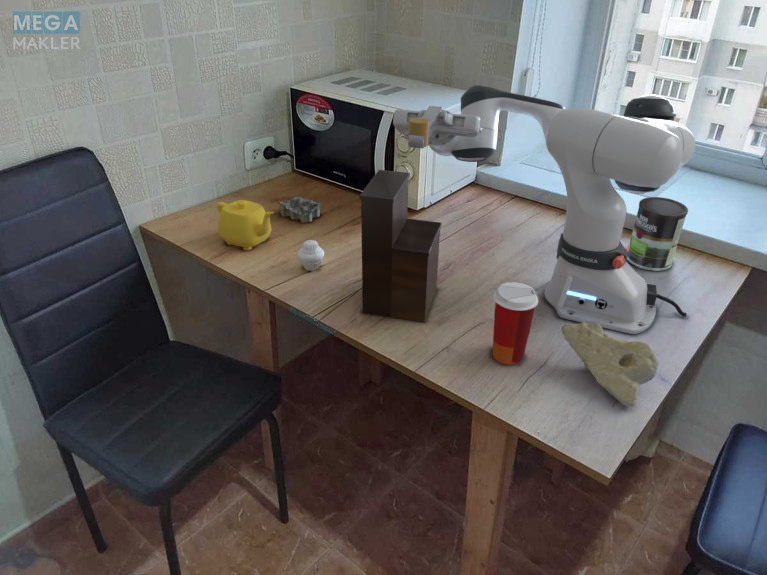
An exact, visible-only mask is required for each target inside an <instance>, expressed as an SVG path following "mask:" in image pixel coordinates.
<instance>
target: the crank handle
mask: <svg viewBox="0 0 767 575" xmlns="http://www.w3.org/2000/svg"><path fill="white" fill-rule="evenodd" d="M425 110H426V112H425V113H424V114H423V116H422V117H415V118H411V119H409V130H408V139H407V145H408V148H414V149H424V148H426V147H428V140H429V138H430V136H431V135H432V133H433V131H434V130H435V128H436V127H437V125H438V123H439V122H440V120H439V116H440V112H442V110H443V106H436V105H429V106H428V108H427V109H425Z"/></svg>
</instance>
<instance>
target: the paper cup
mask: <svg viewBox="0 0 767 575" xmlns="http://www.w3.org/2000/svg"><path fill="white" fill-rule="evenodd" d="M492 298H493V299H492V300H493V301H494V315H493V316H494V319H493V336H492V356H493V357H492V358H494V360H495V361H497V362H498V363H500V364H502V365H506V366H507V365H508V366H514V365H518V364H519V363H521V362H522V361H523V359H524V357H525V352H526V348H527V344H528V340H529V336H530V332H531V328H532V323H533V319H534V315H535V309H536V307H537V306H538V304H539V297H538V296H537V293H536V291H535V289H534V288H533V287H532V286H530V285H528V284H526V283H522V282H518V281H509V282H505V283H502V284H501V285H500V286H499V287H498V288H497V289H496V290H495V292H494V294H493V295H492Z"/></svg>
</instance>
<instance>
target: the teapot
mask: <svg viewBox="0 0 767 575" xmlns="http://www.w3.org/2000/svg"><path fill="white" fill-rule="evenodd" d="M216 209H217V211H218V213H219V216H218V217H219V218H218V224H217V225H218V226H217V228H218V230H217V231H218V235H219V236H220V238H221V239H222V240H223V241H224V242H226V244H227V245H228V246H237V247H242V250H244V251H250V250H252V248H253V247H255V246H257V245H259V244H261V243H262V242H263V243H264V242H265V241H266V240H267V239H268V238H269V237H270V235H271V233H272V224H271V215H272V214H273V215H274V213H275V212H274V211H267V212H266V210H265V209H264V207H263V206H262V205H261V204H260V203H257V202H254V201H251V200H245V199H238V200H234V201H233V202H231V203H226V202H223V201H218V202H216Z"/></svg>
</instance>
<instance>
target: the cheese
mask: <svg viewBox="0 0 767 575" xmlns="http://www.w3.org/2000/svg"><path fill="white" fill-rule="evenodd" d="M600 325H603V324H597V323H593V324H589V323H585V322H582V323H581V322H580V323H569V324H565V325H563V326H561V332H562V335H563V338H564V340H565V341H566V342H567V343H568V344H569V346H570V347H571V349H572V350H573V351H574V352H575V354H576V355H577V356H578V357H579V358H580V360H581V363H583V366H584V368H585V369H586V370H589V371H590V373H591V375H592V376H593V377H594V378H595V380H596V383H598V384H599V385H600V387H602V388H604V389H605V390H606V391H607V393H608V394H610V395H611V396H613V397H614V398H615V399H616V400H617V401H618V402H620V404H621V405H622V406H624V407H628V408H629V407H631V408H632V407H634V406H635V403H636V402H637V399H638V396H639V391H640V385H643V384H647V383H648V382H650V381H652V380H653V379H654V377H656V374H657V371H658V368H659V364H660V362H659V359H658V356H657V355H656V352H655V351H654V349H653V348H652V347H651V345H650V344H649V343H647V342H645V341H641V340H631V341H628V340H620V339H618V338H616V337H614V336H611V335H610V334H607V333H604V329H603V327H601V326H600Z"/></svg>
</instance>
